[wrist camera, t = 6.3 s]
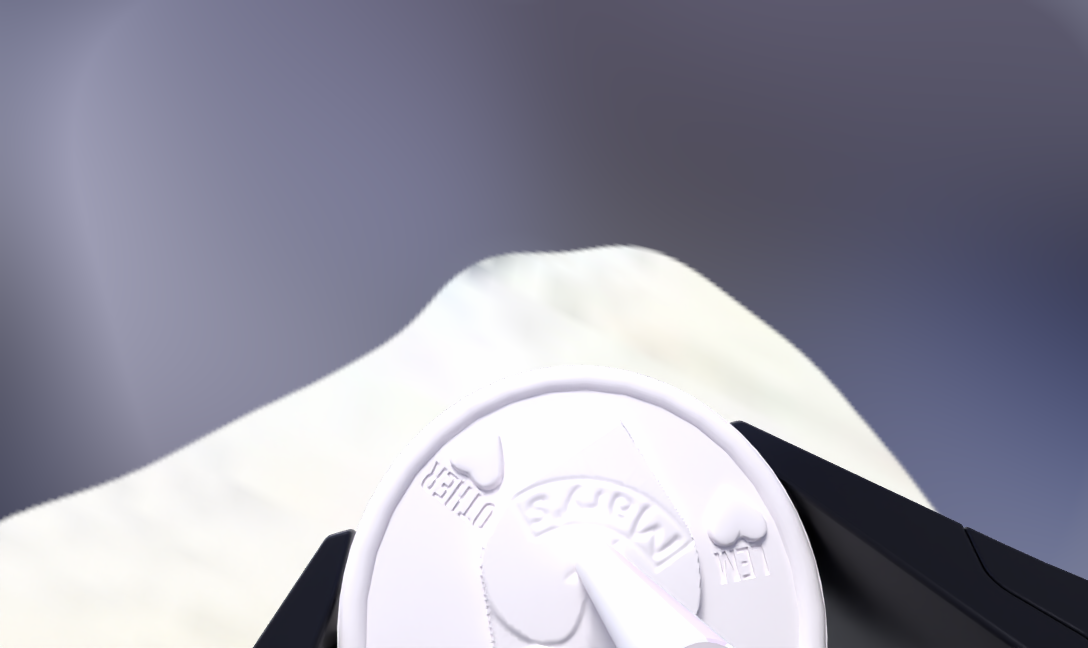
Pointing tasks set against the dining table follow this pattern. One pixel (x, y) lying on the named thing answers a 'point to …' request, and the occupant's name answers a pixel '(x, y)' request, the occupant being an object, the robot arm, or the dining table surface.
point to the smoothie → (580, 527)
